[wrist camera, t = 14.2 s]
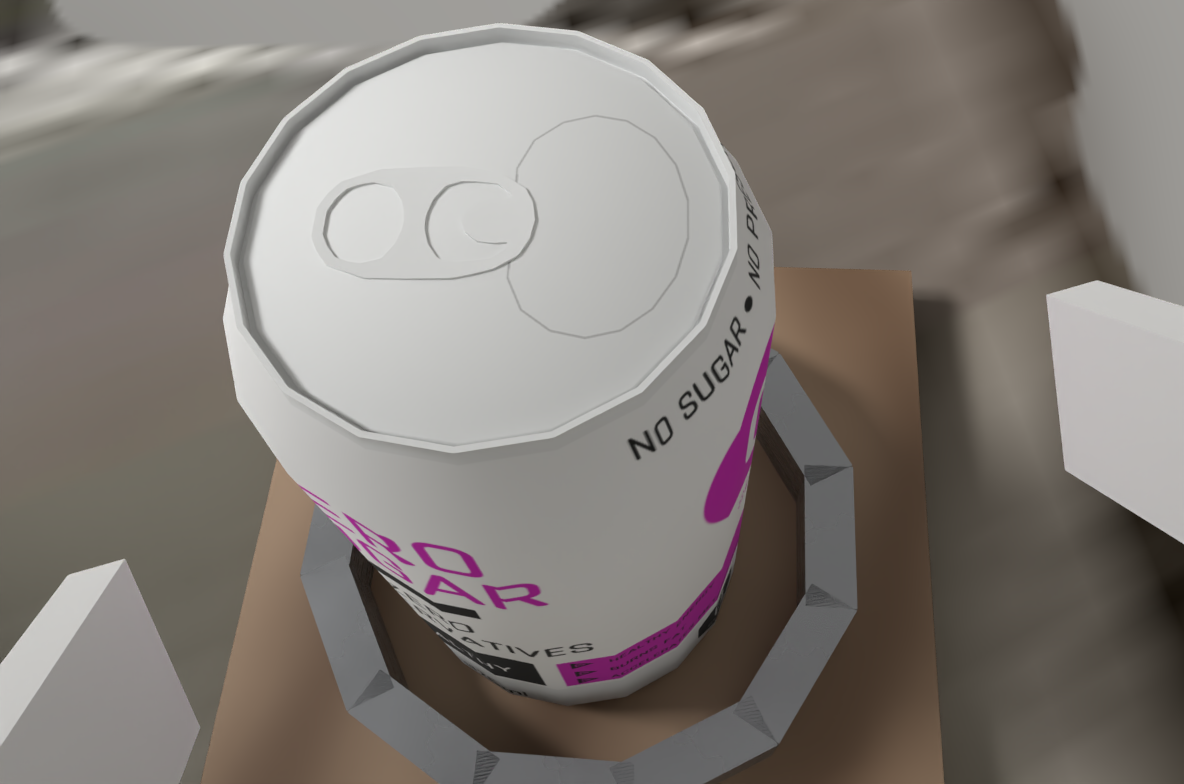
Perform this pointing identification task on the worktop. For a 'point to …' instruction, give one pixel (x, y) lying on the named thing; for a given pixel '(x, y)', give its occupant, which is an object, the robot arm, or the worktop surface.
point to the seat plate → (723, 656)
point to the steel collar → (683, 761)
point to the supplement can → (513, 345)
